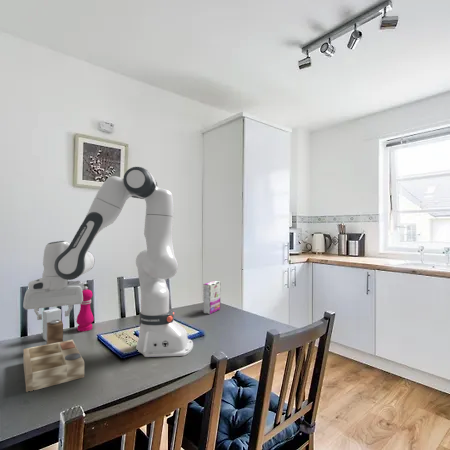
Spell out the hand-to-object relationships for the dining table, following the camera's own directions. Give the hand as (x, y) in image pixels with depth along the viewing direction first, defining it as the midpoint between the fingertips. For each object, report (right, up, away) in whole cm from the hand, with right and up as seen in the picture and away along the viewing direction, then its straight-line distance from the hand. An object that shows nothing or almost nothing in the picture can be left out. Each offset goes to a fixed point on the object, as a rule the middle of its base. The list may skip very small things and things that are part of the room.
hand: (53, 317), depth 117 cm
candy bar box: (+59, -13, +54) cm, 81 cm away
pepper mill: (+2, -12, +22) cm, 25 cm away
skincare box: (-7, -12, +11) cm, 18 cm away
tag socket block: (+9, -12, -17) cm, 23 cm away
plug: (0, -12, 0) cm, 12 cm away
